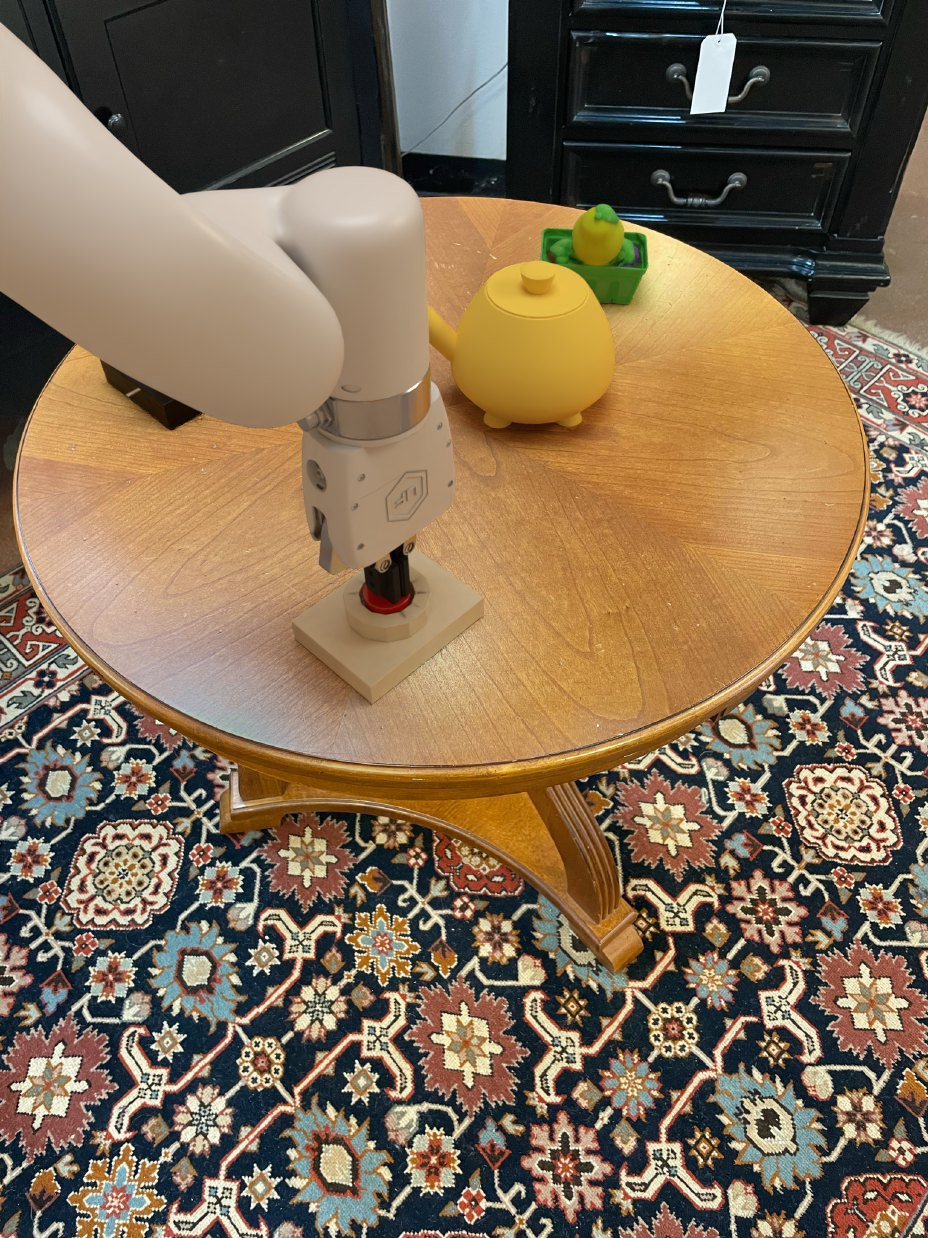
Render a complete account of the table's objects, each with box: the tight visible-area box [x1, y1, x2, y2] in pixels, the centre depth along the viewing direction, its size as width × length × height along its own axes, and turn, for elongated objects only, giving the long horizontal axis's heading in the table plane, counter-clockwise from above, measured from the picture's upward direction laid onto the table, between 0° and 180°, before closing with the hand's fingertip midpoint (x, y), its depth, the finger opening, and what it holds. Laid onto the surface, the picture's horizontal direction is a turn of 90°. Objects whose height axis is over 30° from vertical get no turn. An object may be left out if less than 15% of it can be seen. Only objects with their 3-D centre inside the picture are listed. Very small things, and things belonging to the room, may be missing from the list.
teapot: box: [428, 260, 616, 429], centre depth 89 cm, size 20×16×14 cm
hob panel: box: [99, 359, 203, 431], centre depth 94 cm, size 16×12×3 cm
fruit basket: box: [539, 203, 649, 305], centre depth 101 cm, size 11×9×11 cm
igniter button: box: [363, 584, 412, 615], centre depth 73 cm, size 4×4×2 cm
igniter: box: [291, 547, 485, 705], centre depth 74 cm, size 12×9×4 cm
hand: (388, 589), depth 72 cm, fingers closed
